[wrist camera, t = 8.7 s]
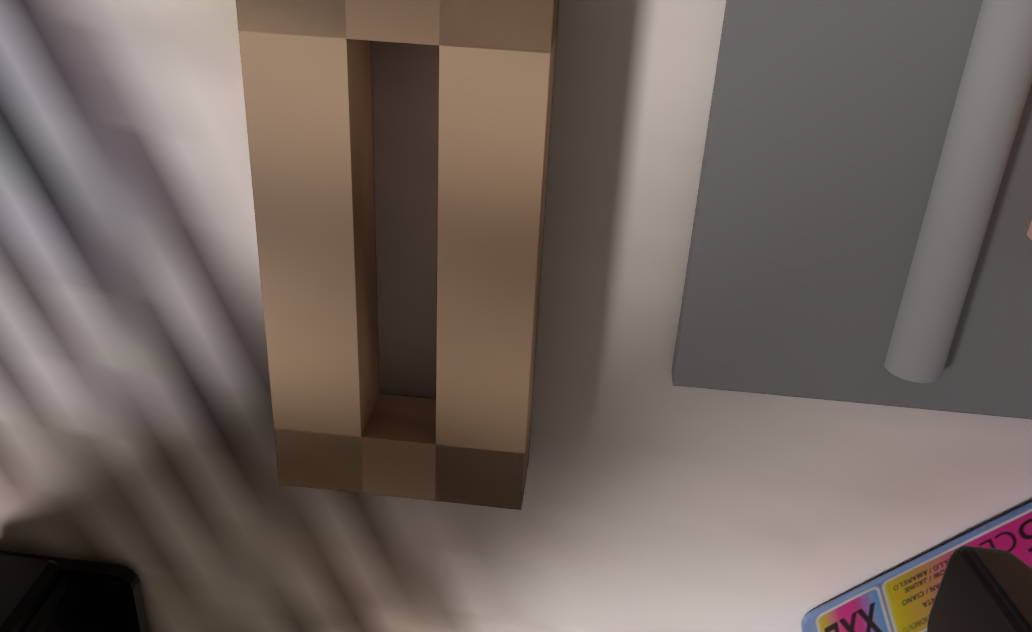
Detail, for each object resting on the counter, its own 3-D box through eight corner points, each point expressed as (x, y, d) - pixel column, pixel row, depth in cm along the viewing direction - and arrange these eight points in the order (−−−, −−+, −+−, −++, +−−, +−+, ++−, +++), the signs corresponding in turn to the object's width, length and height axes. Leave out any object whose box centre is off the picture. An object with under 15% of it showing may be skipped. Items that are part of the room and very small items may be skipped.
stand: (528, 462, 23) (521, 509, 22) (302, 439, 24) (278, 484, 22) (562, -56, 18) (556, -42, 16) (264, -75, 18) (230, -63, 17)
